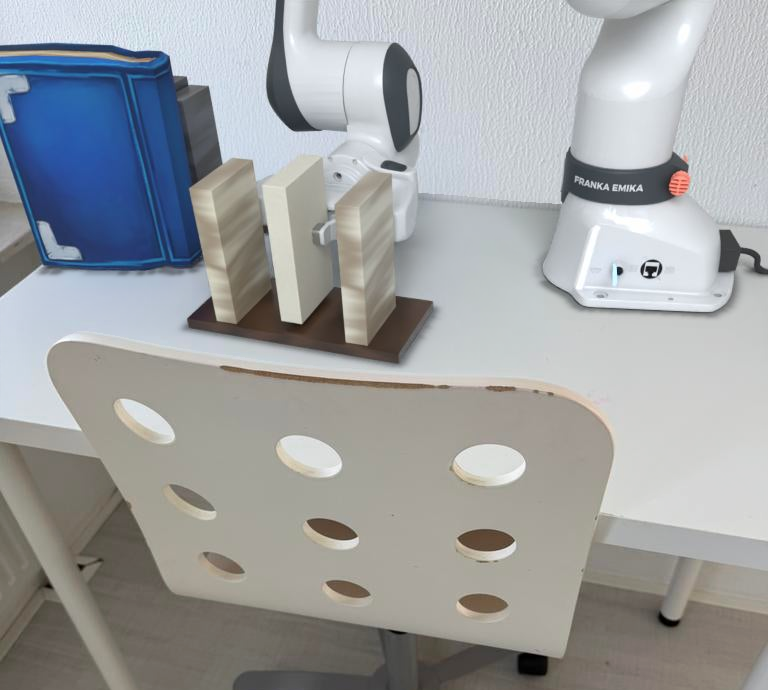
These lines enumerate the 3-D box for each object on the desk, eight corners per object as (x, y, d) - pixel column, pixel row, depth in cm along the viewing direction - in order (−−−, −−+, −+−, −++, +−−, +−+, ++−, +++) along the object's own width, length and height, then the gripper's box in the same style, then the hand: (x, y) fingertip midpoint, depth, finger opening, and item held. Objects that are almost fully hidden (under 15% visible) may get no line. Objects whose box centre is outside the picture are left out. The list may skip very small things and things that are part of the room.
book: (215, 249, 104) (173, 38, 87) (201, 274, 99) (153, 54, 82) (63, 248, 106) (-7, 42, 89) (41, 272, 101) (-37, 58, 84)
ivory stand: (433, 310, 90) (434, 167, 79) (398, 363, 82) (394, 213, 71) (238, 281, 97) (213, 146, 86) (188, 327, 89) (154, 186, 78)
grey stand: (300, 205, 114) (285, 76, 102) (270, 233, 107) (250, 99, 96) (201, 194, 119) (176, 70, 107) (166, 220, 112) (135, 90, 100)
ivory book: (334, 287, 91) (322, 155, 81) (302, 324, 85) (285, 187, 75) (314, 284, 92) (300, 153, 81) (281, 321, 86) (261, 185, 75)
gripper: (269, 153, 93) (212, 196, 84) (429, 169, 87) (387, 217, 78) (276, 205, 97) (222, 251, 88) (429, 223, 92) (389, 275, 82)
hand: (301, 236), depth 83 cm, fingers closed on ivory book, 2 cm apart
